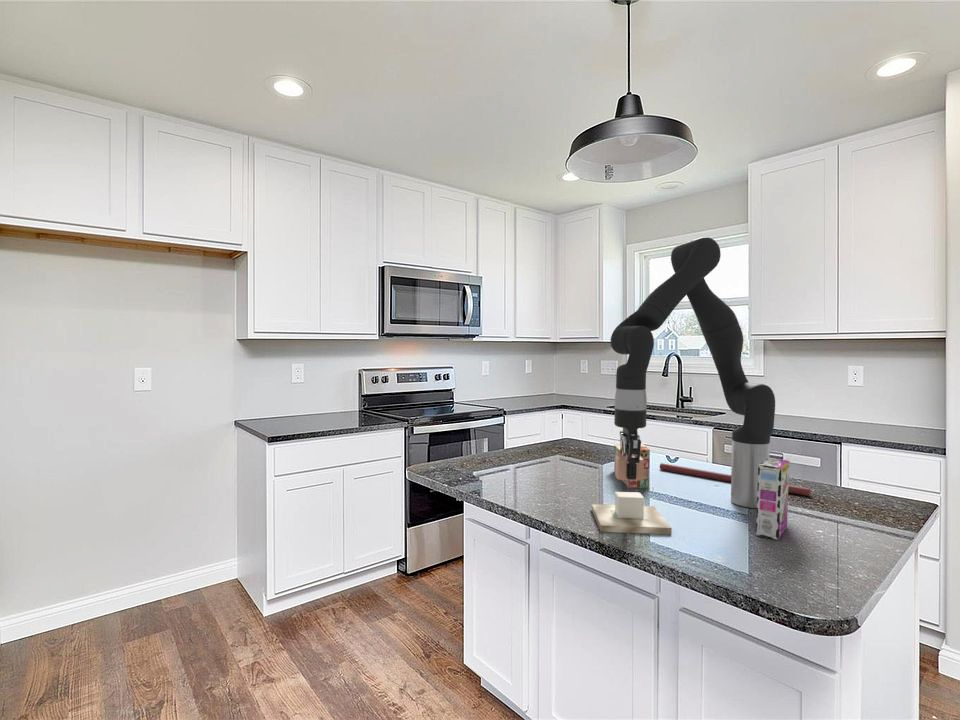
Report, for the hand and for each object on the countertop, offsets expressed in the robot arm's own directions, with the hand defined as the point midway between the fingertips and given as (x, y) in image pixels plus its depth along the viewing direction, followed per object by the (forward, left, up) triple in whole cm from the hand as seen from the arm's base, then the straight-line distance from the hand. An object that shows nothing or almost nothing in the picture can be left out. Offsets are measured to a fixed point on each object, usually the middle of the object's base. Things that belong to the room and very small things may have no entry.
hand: (629, 476), depth 127 cm
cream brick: (0, 0, -10) cm, 10 cm away
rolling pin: (-39, -41, -12) cm, 58 cm away
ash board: (0, 0, -11) cm, 11 cm away
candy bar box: (-32, +4, -11) cm, 34 cm away
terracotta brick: (0, 0, 0) cm, 0 cm away
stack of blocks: (-9, -41, -12) cm, 44 cm away
